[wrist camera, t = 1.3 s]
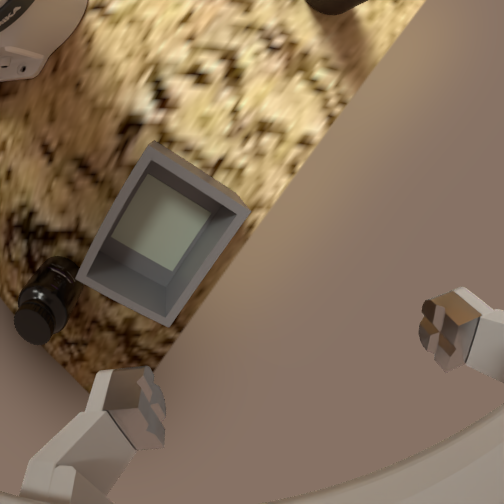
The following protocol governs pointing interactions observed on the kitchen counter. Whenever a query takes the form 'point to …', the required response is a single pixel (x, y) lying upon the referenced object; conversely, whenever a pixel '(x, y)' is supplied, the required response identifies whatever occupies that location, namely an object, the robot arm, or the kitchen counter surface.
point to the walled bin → (161, 235)
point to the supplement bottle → (47, 300)
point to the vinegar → (334, 5)
